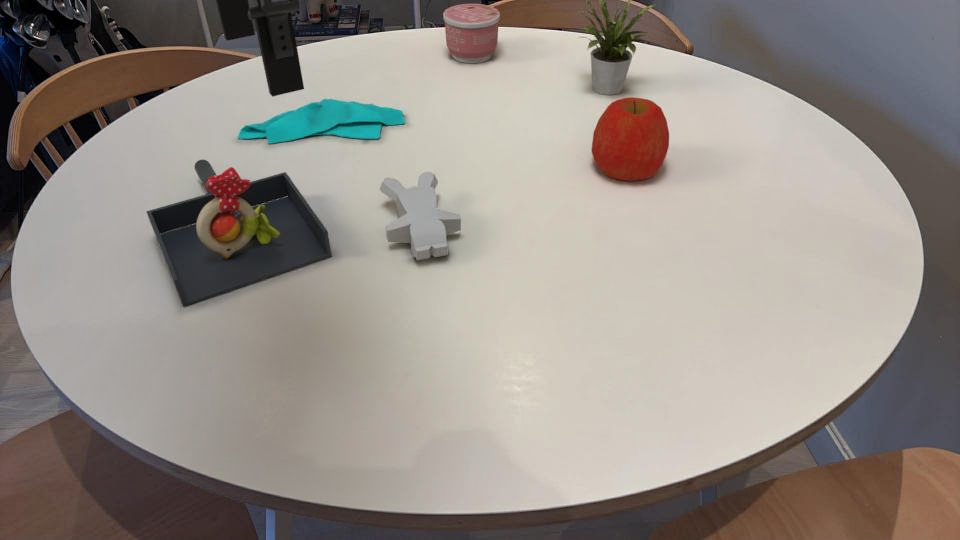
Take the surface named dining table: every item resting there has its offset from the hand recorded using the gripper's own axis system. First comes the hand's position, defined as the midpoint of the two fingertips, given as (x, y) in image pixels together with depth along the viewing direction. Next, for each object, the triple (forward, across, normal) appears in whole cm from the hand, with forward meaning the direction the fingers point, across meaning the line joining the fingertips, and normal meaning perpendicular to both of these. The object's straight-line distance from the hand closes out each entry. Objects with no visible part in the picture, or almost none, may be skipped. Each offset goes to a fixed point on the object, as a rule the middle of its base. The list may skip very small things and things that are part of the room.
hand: (261, 62), depth 62 cm
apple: (+29, +4, -50) cm, 58 cm away
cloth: (+29, +40, -17) cm, 52 cm away
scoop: (+29, +20, +4) cm, 35 cm away
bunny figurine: (+29, +6, -17) cm, 34 cm away
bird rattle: (+28, +13, +4) cm, 32 cm away
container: (+29, +51, -51) cm, 78 cm away
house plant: (+29, +27, -63) cm, 74 cm away
